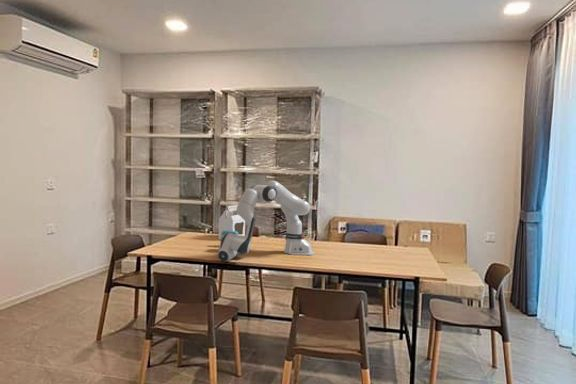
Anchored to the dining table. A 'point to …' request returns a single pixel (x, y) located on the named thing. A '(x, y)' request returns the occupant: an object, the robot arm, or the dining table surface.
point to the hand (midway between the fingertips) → (237, 247)
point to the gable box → (231, 222)
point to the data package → (229, 232)
